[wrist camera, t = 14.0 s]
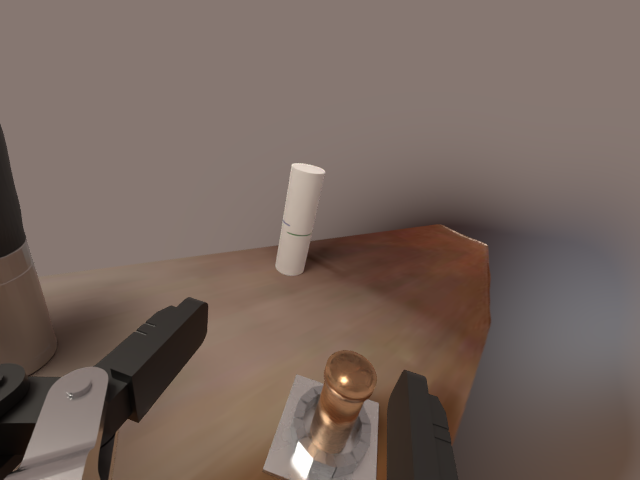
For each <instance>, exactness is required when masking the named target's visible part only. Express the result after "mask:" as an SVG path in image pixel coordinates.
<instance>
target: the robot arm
mask: <svg viewBox="0 0 640 480" xmlns="http://www.w3.org/2000/svg"><path fill="white" fill-rule="evenodd" d="M207 323H208V304H207V303H206V302H203V301H200V300H197V299H194V298H191V297H188V298H186V299H185V300H184V301H183V302H182V303H181V304H179V305H178V306H177V307H174V306H169V307H167V308H165V309H163V310H161V311H158V312H157V313H155V314H154V315H153V316H152V317H151V318H150V319H148V320H147V321H146V323H145V324H143V325H142V326H140V327H139V328H138V329H137V331H136V332H133V333H132V334H131V335H130V336H129V337H128V338H126V339H125V340H124V341H123V342H122V343H121V344H120V345H118V346H117V347H116V348H115V349H114V350H113V351H111V352H110V353H109V354H108V355H107V356H106V357H105V358H103V359H102V360H101V361H100V362H99V363H97V364H96V365H95V366H93V367H84V368H80V369H77V370H74V371H72V372H70V373H68V374H66V375H64V376H63V377H27V376H28V375H30V374H32V373H33V372H35V371H37V370H38V369H40V368H41V367H42V366H43V365H44V364H46V363H47V362H48V361H49V360H50V359H51V357H52V356H53V355H54V353H55V351H56V349H57V339H56V336H55V333H54V329H53V326H52V323H51V319H50V315H49V312H48V309H47V305H46V302H45V299H44V295H43V292H42V289H41V285H40V282H39V279H38V275H37V272H36V269H35V266H34V262H33V259H32V257H31V253H30V249H29V246H28V243H27V239H26V235H25V232H24V229H23V224H22V217H21V209H20V205H19V200H18V197H17V193H16V189H15V185H14V181H13V176H12V172H11V167H10V162H9V156H8V151H7V146H6V142H5V138H4V134H3V131H2V128H1V125H0V480H112V475H113V468H114V461H115V454H116V447H117V440H118V433H119V428H120V427H121V426H122V424H123V423H124V422H125V421H126V420H127V419H130V420H132V421H135V422H137V423H139V422H140V420H141V419H142V418H143V417H144V415H145V414H146V413H147V412H148V410H149V409H150V408H151V407H152V405H153V404H154V403H155V402H156V400H157V399H158V398H159V397H160V395H161V394H162V393H163V392H164V390H165V389H166V388H167V387H168V386H169V384H170V383H171V382H172V381H173V379H174V378H175V377H176V376H177V374H178V373H179V372H180V371H181V369H182V368H183V367H184V366H185V364H186V363H187V362H188V361H189V359H190V358H191V357H192V356H193V354H194V353H195V352H196V351H197V349H198V348H199V347H200V346H201V344H202V343H203V341H204V339H205V337H206V334H207ZM448 430H449V427H448V422H447V417H446V412H445V410H444V408H443V407H442V405H441V403H440V401H439V399H438V397H436V396H433V395H430V394H428V387H427V380H426V378H425V376H422V375H419V374H416V373H413V372H410V371H407V370H404V371H403V372H402V374H401V376H400V378H399V380H398V382H397V384H396V385H395V387H394V389H393V391H392V393H391V396H390V399H389V403H388V410H387V480H458V476H457V471H456V465H455V460H454V455H453V449H452V446H451V438H450V433H449V432H448ZM21 462H22V463H21ZM20 463H21V465H20V467H19V468H18V469H17V470H16V471H13V470H14V469H15V468H16V467H17V466H18V465H19V464H20ZM12 471H13V472H12Z"/></svg>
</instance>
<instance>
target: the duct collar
mask: <svg viewBox="0 0 640 480" xmlns="http://www.w3.org/2000/svg"><path fill="white" fill-rule="evenodd" d="M323 385H324V384H323V383H320V382H317V381H314V380H311V379H308V378H306V377H303V376H300V375H297V374H296V377H295V380H294V383H293V386H292V389H291V391H290V394H289V397H288V400H287V403H286V406H285V408H284V411H283V414H282V417H281V420H280V422H279V425H278V428H277V431H276V434H275V437H274V439H273V442H272V445H271V448H270V451H269V454H268V456H267V459H266V462H265V465H264V468H263V471H262V472H264V473H267V474H269V475H272V476H274V477H277V478H279V479H282V480H376V466H377V439H378V412H379V403H377V402H374V401H371V400H368V399H367V400H366V401H364V404H363V406H362V408H361V410H360V413H359V415H358V417H357V420H356V422H355V424H354V426H353V429H352V431H351V433H350V436H349V438H348V440H347V442H346V445H345V446H344V448H343V449H342V450H341V451H340V452H338V453H335V454H330V453H327V452H324V451H322V450H319V449H318V448H317V447H316V445H315V444H314V443H313V441H312V439H311V435H310V426H311V423H312V420H313V416H314V413H315V410H316V407H317V404H318V401H319V398H320V394H321V391H322V388H323Z"/></svg>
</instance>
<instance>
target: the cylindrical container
mask: <svg viewBox="0 0 640 480" xmlns="http://www.w3.org/2000/svg"><path fill="white" fill-rule="evenodd" d="M324 175H325V171H324V170H323V169H321V168H319V167H316V166H313V165H309V164H302V163H295V164H292V167H291V173H290V179H289V185H288V191H287V198H286V204H285V210H284V216H283V222H282V228H281V234H280V241H279V247H278V253H277V259H276V265H275V267H276V269H277V270H278V271H279V272H280V273H282V274H285V275H289V276H296V275H300V274H301V273H303V271H304V267H305V262H306V258H307V253H308V249H309V244H310V240H311V235H312V231H313V226H314V221H315V217H316V212H317V208H318V203H319V198H320V194H321V189H322V184H323V180H324Z"/></svg>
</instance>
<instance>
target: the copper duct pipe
mask: <svg viewBox="0 0 640 480" xmlns="http://www.w3.org/2000/svg"><path fill="white" fill-rule="evenodd" d="M324 379H325V382H324V385H323V388H322V391H321V394H320V398H319V401H318V404H317V407H316V410H315V413H314V416H313V420H312V423H311V426H310V435H311V439H312V441H313V443H314V444H315V445H316V447H317V448H318V449H319V450H322V451H324V452H327V453H330V454H335V453H338V452H340V451H341V450H342V449H343V448H344V446H345V445H346V442H347V440H348V438H349V436H350V433H351V431H352V429H353V426H354V424H355V422H356V420H357V417H358V415H359V413H360V410H361V408H362V406H363V404H364V401H366V400H367V399H368V398H369V397H370V396H371V395H372V393H373V390H374V388H375V386H376V383H377V376H376V372H375V369H374V367H373V366H372V364H371V363H370V362H369V361H368V360H367V359H366V358H365V357H363V356H362V355H360V354H358V353H356V352H353V351H347V350H343V351H338V352H336V353H334V354H332V355H331V356H330V357H329V359H328V361H327V364H326V367H325V370H324Z"/></svg>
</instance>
